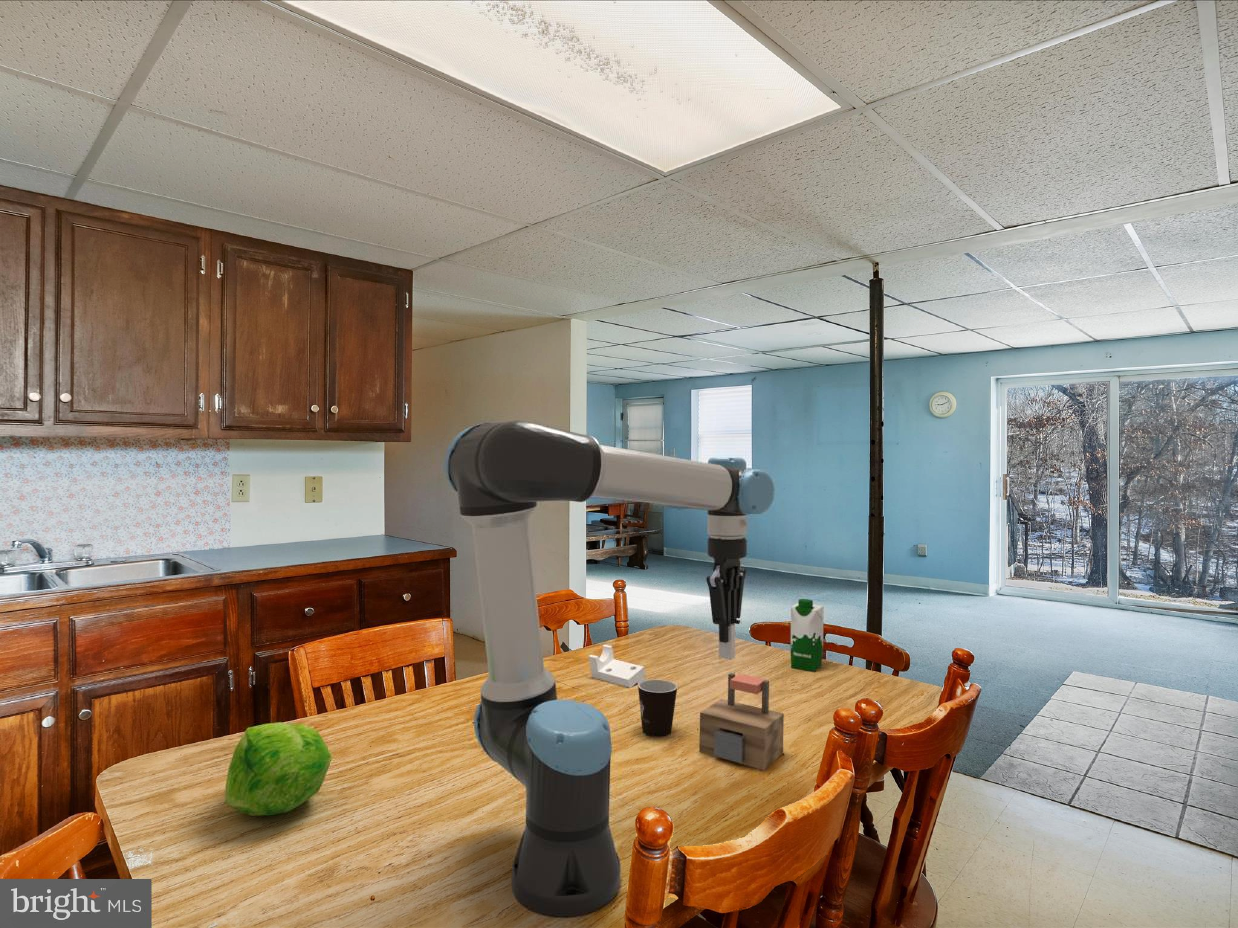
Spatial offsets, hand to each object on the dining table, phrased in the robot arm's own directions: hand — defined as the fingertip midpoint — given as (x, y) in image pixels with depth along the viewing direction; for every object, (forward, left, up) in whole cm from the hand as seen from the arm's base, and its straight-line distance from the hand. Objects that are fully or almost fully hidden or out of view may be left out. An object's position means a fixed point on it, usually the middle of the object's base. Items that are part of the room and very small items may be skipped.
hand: (726, 657), depth 129 cm
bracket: (+30, +47, -22) cm, 60 cm away
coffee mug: (+8, +20, -22) cm, 31 cm away
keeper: (+11, 0, -9) cm, 14 cm away
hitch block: (+8, 0, -21) cm, 23 cm away
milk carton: (+74, +9, -22) cm, 78 cm away
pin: (+9, 0, -21) cm, 23 cm away
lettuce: (-59, +54, -22) cm, 83 cm away
